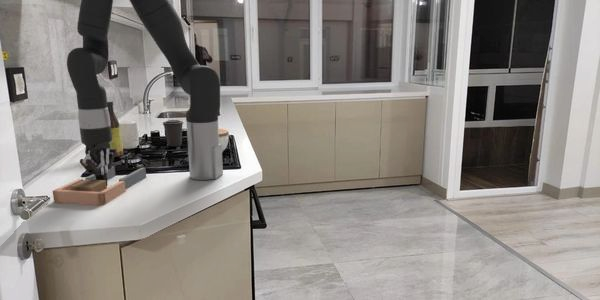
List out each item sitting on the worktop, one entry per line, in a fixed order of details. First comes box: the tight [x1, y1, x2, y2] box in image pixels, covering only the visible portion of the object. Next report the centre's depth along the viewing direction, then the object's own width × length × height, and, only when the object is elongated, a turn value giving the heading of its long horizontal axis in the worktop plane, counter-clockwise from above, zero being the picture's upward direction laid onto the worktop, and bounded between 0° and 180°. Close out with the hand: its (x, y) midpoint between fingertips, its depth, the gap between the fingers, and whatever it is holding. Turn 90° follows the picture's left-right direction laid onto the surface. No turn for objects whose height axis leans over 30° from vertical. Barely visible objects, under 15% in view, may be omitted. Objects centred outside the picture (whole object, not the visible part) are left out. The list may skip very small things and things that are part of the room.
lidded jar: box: [218, 128, 230, 153], centre depth 157 cm, size 11×11×9 cm
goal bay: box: [52, 178, 127, 206], centre depth 110 cm, size 14×10×3 cm
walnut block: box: [70, 178, 108, 192], centre depth 110 cm, size 6×6×4 cm
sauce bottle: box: [107, 100, 124, 158], centre depth 149 cm, size 7×6×20 cm
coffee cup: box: [162, 119, 184, 147], centre depth 168 cm, size 8×8×10 cm
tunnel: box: [84, 165, 147, 190], centre depth 122 cm, size 11×12×3 cm
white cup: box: [118, 119, 140, 150], centre depth 164 cm, size 8×8×10 cm
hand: (102, 186), depth 115 cm, fingers closed
